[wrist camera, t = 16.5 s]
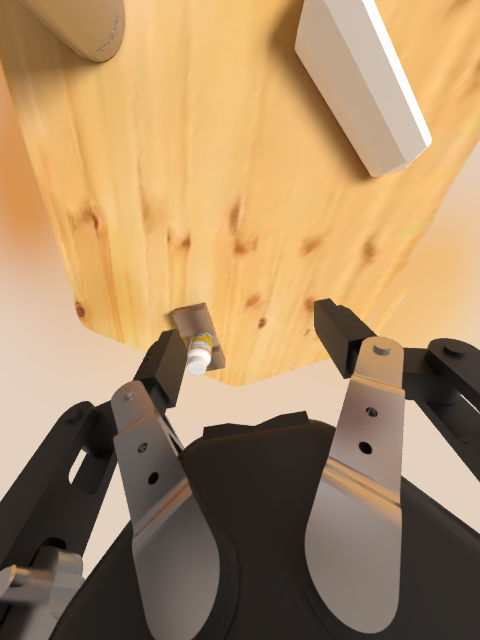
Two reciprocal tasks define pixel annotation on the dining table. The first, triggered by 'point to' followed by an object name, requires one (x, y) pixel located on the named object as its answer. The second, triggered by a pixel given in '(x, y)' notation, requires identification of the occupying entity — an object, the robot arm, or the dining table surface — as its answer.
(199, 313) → the brown wooden cradle
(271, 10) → the dining table surface
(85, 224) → the dining table surface
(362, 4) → the crystal
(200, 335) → the supplement bottle
